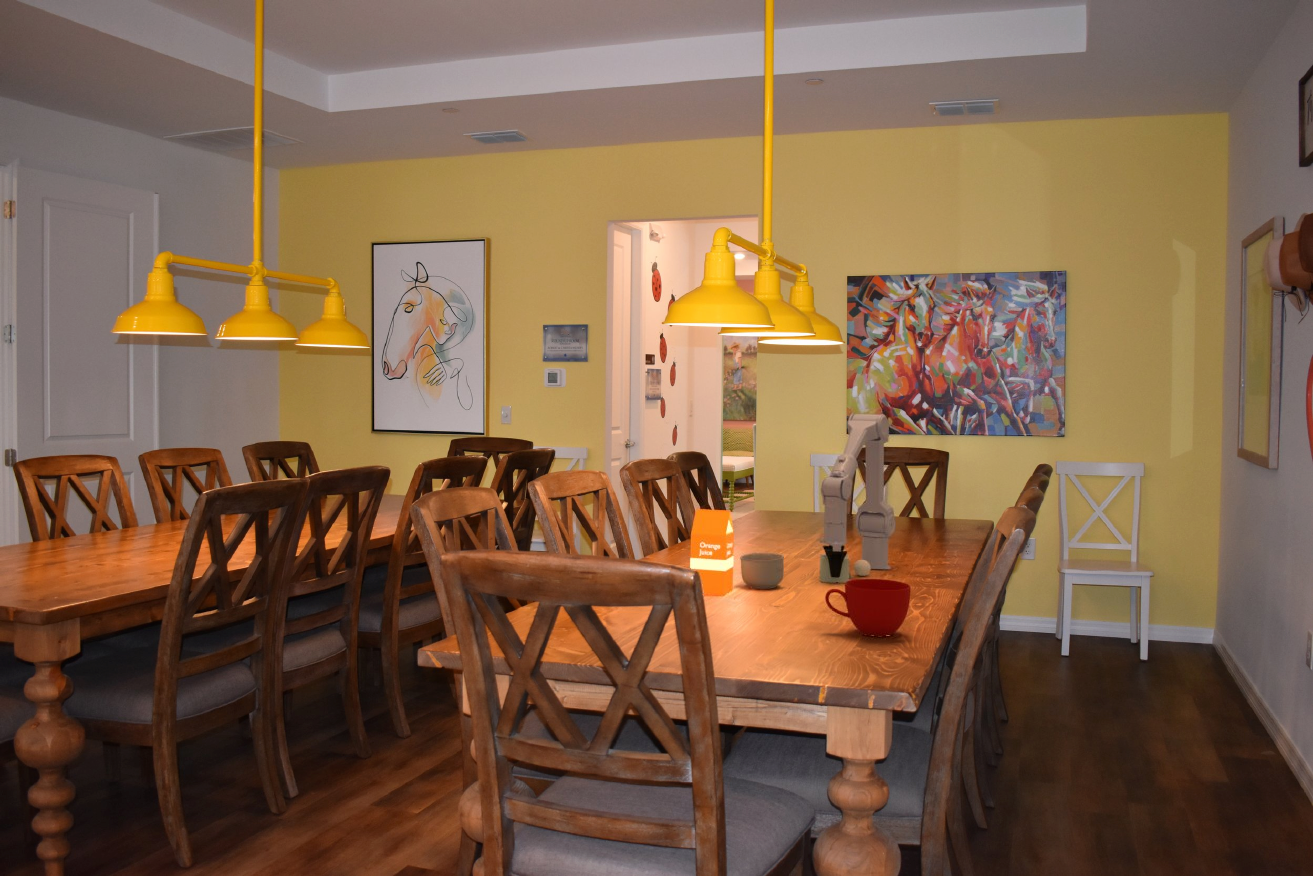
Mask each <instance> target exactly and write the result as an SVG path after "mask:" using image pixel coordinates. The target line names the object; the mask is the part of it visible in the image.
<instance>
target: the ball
mask: <svg viewBox="0 0 1313 876" xmlns="http://www.w3.org/2000/svg"><path fill="white" fill-rule="evenodd" d="M853 570H854V571H853V572H854V573H855V574H856V575H857V576H860V577H866V576H867V575H869V574H870V573H871V570H872V569H871V567H870V564H869V563H868V562H867V561H866V560H862V559H859V560H857V561H856V562H855V563H854V565H853Z"/></svg>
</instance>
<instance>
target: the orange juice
mask: <svg viewBox="0 0 1313 876" xmlns="http://www.w3.org/2000/svg"><path fill="white" fill-rule="evenodd" d="M693 518H694V519H693V524H692V527H691V533H690V560H689V561H690V562H689V563H690V564H689V569H690V568H691V569H694V570H697V571H698V572H699V573H700V576H701V580H702V584H703V590H704V594H703V595H706V594H707V595H708V596H719V595H723V596H722V597H726V596H727V595H728V594H729V592H730V591H731V592H733V591H734V587H733V585H734V546H735V545H734V544H735V541H734V535H735V534H734V533H735V531H734V526H733V521H732V514H731V510H725V509H724V510H722V509H721V510H720V509H705V508H700V509H699V508H696V510H695V514H694V517H693ZM732 590H733V591H732ZM731 592H730V593H731ZM705 593H706V594H705ZM727 593H728V594H727ZM709 594H710V595H709ZM726 594H727V595H726ZM725 595H726V596H725Z"/></svg>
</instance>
